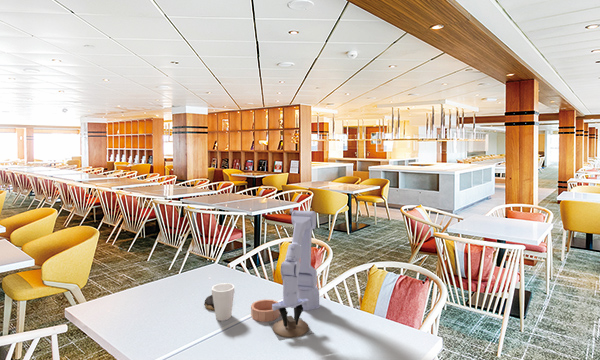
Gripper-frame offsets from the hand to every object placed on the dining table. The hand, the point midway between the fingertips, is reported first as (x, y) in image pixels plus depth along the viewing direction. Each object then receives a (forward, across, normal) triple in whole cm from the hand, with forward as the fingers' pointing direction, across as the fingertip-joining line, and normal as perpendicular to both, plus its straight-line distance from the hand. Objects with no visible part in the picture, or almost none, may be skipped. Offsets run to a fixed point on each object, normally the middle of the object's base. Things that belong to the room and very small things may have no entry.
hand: (290, 324), depth 147 cm
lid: (+2, 0, 0) cm, 2 cm away
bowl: (+2, -6, +15) cm, 16 cm away
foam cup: (+2, -23, +20) cm, 31 cm away
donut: (+2, -24, +33) cm, 41 cm away
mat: (+2, 0, 0) cm, 2 cm away
